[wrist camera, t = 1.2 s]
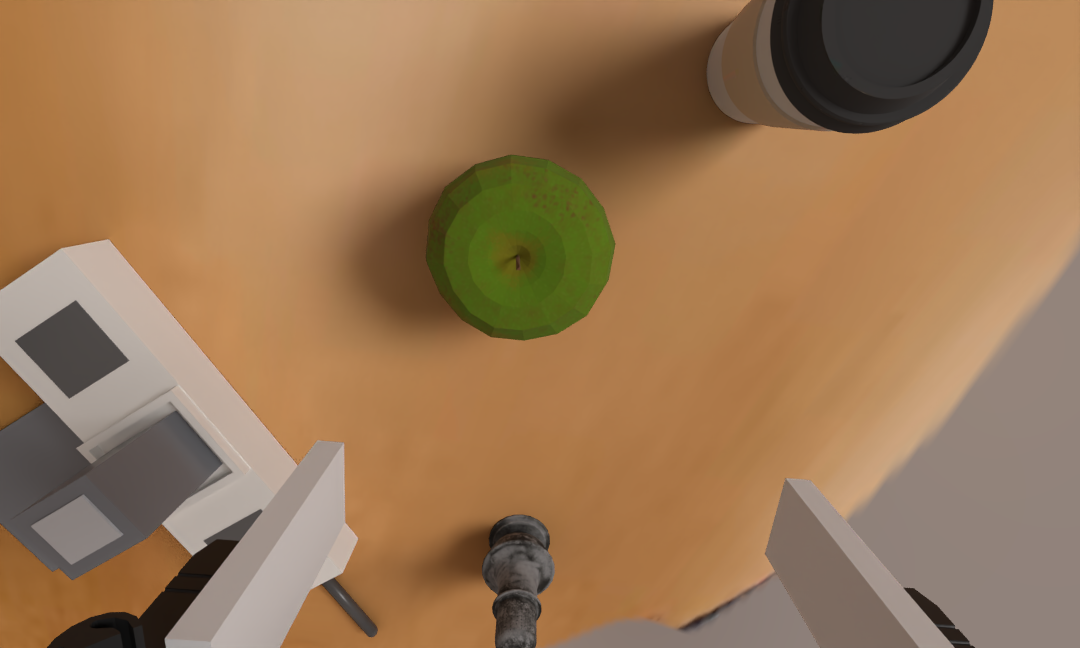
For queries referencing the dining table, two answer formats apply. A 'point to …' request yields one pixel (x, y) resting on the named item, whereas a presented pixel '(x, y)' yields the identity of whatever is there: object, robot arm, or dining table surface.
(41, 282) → the strip
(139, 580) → the dining table surface
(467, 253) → the apple
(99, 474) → the charger
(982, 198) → the dining table surface
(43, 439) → the mat
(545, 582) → the grey chess piece
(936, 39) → the coffee cup
